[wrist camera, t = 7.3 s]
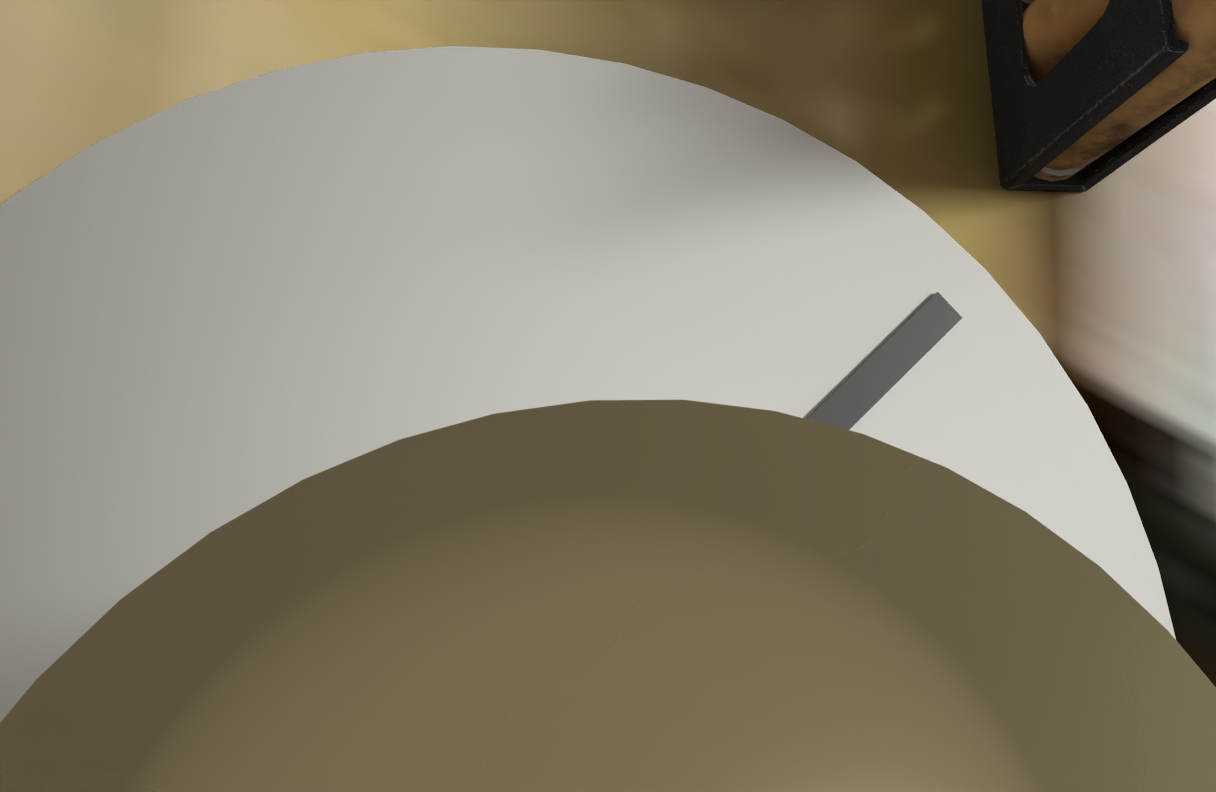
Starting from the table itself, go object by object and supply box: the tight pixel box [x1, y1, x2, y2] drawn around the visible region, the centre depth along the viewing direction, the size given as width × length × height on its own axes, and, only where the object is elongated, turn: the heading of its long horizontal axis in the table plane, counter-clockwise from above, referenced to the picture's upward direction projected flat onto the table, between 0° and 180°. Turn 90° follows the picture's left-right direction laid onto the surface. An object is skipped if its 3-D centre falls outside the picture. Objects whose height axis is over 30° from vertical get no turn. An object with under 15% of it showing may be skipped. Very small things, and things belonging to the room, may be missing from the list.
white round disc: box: [0, 46, 1176, 722], centre depth 16 cm, size 22×22×1 cm
